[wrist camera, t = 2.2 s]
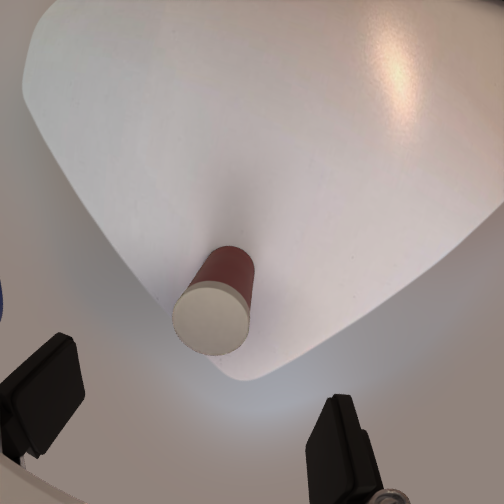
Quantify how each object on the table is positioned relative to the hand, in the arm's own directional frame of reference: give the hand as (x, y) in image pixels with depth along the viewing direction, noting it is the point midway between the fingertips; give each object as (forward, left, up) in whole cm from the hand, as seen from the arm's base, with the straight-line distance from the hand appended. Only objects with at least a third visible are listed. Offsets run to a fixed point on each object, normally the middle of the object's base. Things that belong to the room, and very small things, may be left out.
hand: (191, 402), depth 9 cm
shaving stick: (0, 0, -15) cm, 15 cm away
